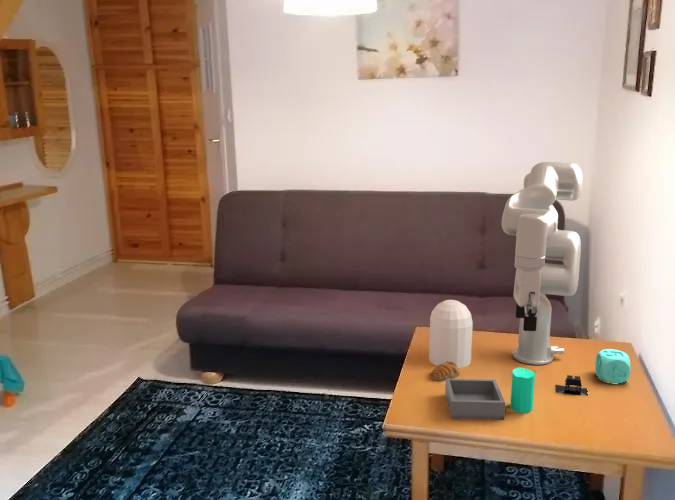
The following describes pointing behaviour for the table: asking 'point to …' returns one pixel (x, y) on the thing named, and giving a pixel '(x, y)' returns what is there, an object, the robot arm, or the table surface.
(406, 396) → the table surface
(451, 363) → the pastry
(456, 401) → the bin
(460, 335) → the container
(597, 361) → the decorative dice
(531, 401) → the candle
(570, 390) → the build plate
